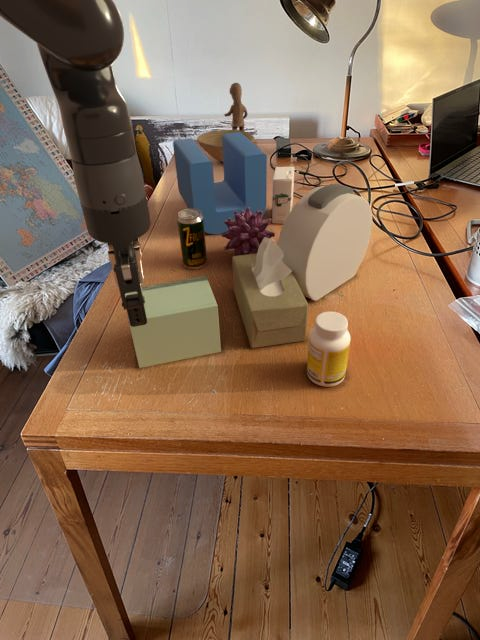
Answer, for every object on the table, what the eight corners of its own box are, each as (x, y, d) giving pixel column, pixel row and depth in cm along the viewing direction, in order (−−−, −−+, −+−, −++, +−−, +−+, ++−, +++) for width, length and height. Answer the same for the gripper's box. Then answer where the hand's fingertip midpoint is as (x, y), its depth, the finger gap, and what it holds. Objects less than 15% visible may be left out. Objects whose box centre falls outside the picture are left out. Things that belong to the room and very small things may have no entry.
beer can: (180, 260, 103) (173, 211, 95) (202, 255, 104) (198, 206, 97) (187, 272, 99) (181, 221, 91) (210, 266, 100) (206, 216, 93)
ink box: (274, 209, 122) (275, 165, 115) (292, 209, 122) (294, 165, 114) (271, 223, 115) (271, 178, 108) (291, 224, 115) (293, 178, 107)
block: (243, 198, 128) (241, 131, 117) (266, 225, 115) (266, 153, 104) (180, 208, 124) (172, 140, 113) (196, 238, 111) (189, 164, 100)
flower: (219, 272, 101) (229, 237, 109) (273, 274, 99) (279, 238, 106) (211, 231, 93) (222, 196, 100) (270, 232, 90) (277, 196, 98)
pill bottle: (347, 365, 75) (356, 312, 68) (341, 392, 71) (350, 337, 64) (310, 357, 77) (315, 304, 70) (302, 383, 72) (306, 329, 65)
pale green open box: (139, 368, 76) (128, 321, 70) (134, 334, 83) (124, 289, 77) (221, 352, 79) (217, 305, 72) (210, 320, 85) (206, 275, 79)
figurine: (243, 139, 169) (241, 79, 157) (254, 144, 164) (254, 83, 152) (222, 144, 166) (219, 83, 153) (233, 149, 161) (231, 87, 148)
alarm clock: (336, 256, 102) (349, 168, 90) (365, 268, 98) (382, 178, 86) (272, 294, 90) (277, 198, 78) (302, 310, 86) (311, 211, 74)
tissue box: (306, 342, 80) (312, 264, 70) (251, 350, 79) (250, 272, 69) (279, 283, 94) (281, 212, 85) (233, 289, 93) (229, 218, 83)
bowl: (252, 150, 159) (252, 126, 154) (256, 169, 145) (256, 144, 140) (199, 153, 159) (197, 129, 154) (198, 172, 145) (196, 147, 140)
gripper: (80, 175, 58) (107, 282, 68) (77, 224, 47) (110, 343, 57) (140, 168, 59) (158, 274, 69) (151, 214, 48) (170, 332, 58)
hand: (136, 305), depth 63 cm, fingers open, 8 cm apart
